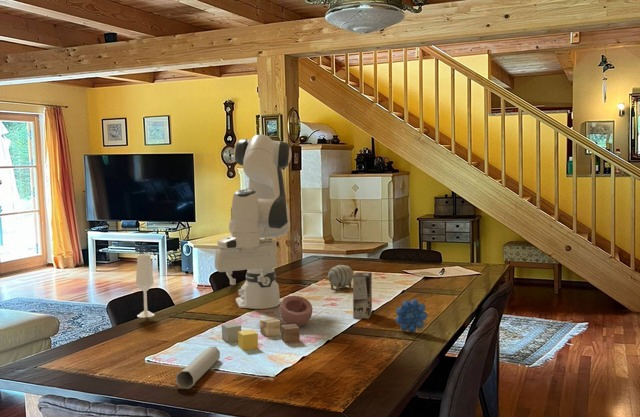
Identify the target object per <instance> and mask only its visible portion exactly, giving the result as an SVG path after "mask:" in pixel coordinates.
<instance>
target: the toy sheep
mask: <svg viewBox="0 0 640 417" xmlns="http://www.w3.org/2000/svg"><path fill="white" fill-rule="evenodd" d="M354 272H355V271H354V270H353V269H352V268H351V267H350V266H349V265H344V264H338V265H336V266H335V265H334V266H333V267H331V268H330V269H329V271H328V274H327V276H325V277H324V279H325V280H326V281H328V282H329V283H330V290H333V289H334V287H335V288H336V291H340V289H341V288H342V289H343V288H346V287H348V288H349V289H352V282H353V276H354V275H355V273H354Z"/></svg>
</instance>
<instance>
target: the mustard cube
mask: <svg viewBox="0 0 640 417" xmlns="http://www.w3.org/2000/svg"><path fill="white" fill-rule="evenodd" d="M258 338H259V334H258V332H256V330H254V329H247V330H241V331H238V341H237V347H239V348H240V349H241V350H242V351H248V350H253V349H258V348H259V339H258Z"/></svg>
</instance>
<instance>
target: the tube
mask: <svg viewBox="0 0 640 417" xmlns="http://www.w3.org/2000/svg"><path fill="white" fill-rule="evenodd" d="M220 358H221V352H220V350H219V349H218V347H217V346H209V347H208V348H206V349H205V350H203V351H202V352H201V353H200V354H199V355H198V356H197V357H195V358H194V360H192V361H191V362H190V363H189V364H187V366H185V367H184V368H183V369H182V370H181V371H179V372H178V373H177V374H175V384H176V385H177V386H178V388H180V389H191V388H192V387H193V386H195V385H196V383H197V381H199V380H200V379H201V378H202V377H203V376H204V375H205V373H207V371H208V370H209V369H211V368H212V366H213V365H214V364H216V363H217V361H219V360H220Z"/></svg>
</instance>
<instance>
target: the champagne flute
mask: <svg viewBox="0 0 640 417" xmlns="http://www.w3.org/2000/svg"><path fill="white" fill-rule="evenodd" d="M136 260H137V261H136V274H135V285H136V286H137V288H138V289H139V290H141V291H142V292H143V311H141V312H140V313H139V314H137V315H136V316H137V318H152V317H154V316H155V313H153V312H151V311H149V310H148V296H147V295H148V294H147V291H149V289H151V288H152V287H153V285H154V276H153V267H152V259H151V254H150V253H141V254H137V258H136Z"/></svg>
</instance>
